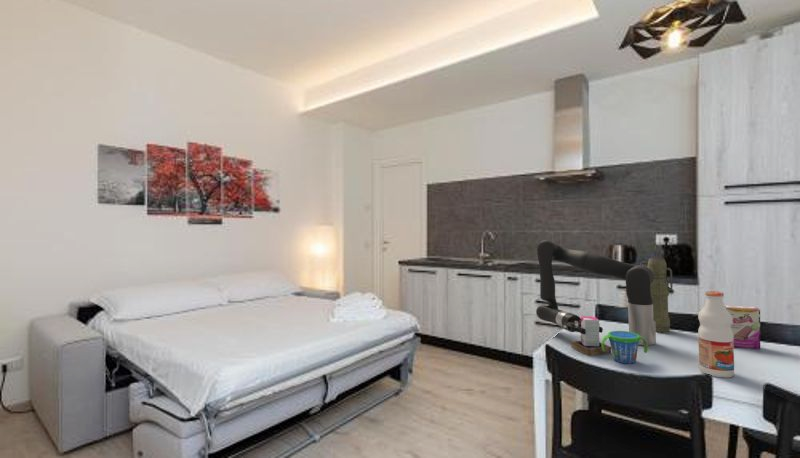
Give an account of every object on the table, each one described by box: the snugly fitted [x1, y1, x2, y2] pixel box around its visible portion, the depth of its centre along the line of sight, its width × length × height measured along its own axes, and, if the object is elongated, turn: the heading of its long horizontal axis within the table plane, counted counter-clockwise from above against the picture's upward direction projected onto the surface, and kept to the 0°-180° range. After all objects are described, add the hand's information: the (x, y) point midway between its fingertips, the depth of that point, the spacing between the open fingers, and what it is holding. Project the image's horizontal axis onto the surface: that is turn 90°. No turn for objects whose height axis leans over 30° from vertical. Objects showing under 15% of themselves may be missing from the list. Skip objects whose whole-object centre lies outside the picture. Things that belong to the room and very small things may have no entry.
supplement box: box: [580, 315, 600, 348], centre depth 160 cm, size 6×6×12 cm
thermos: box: [646, 257, 673, 334], centre depth 184 cm, size 9×12×35 cm
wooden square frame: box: [570, 340, 612, 357], centre depth 160 cm, size 11×11×2 cm
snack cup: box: [600, 330, 649, 364], centre depth 147 cm, size 16×10×10 cm
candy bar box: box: [724, 304, 761, 350], centre depth 158 cm, size 11×5×16 cm, turn 65°
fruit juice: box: [697, 290, 735, 379], centre depth 133 cm, size 9×9×28 cm
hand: (593, 331), depth 158 cm, fingers closed on supplement box, 7 cm apart
